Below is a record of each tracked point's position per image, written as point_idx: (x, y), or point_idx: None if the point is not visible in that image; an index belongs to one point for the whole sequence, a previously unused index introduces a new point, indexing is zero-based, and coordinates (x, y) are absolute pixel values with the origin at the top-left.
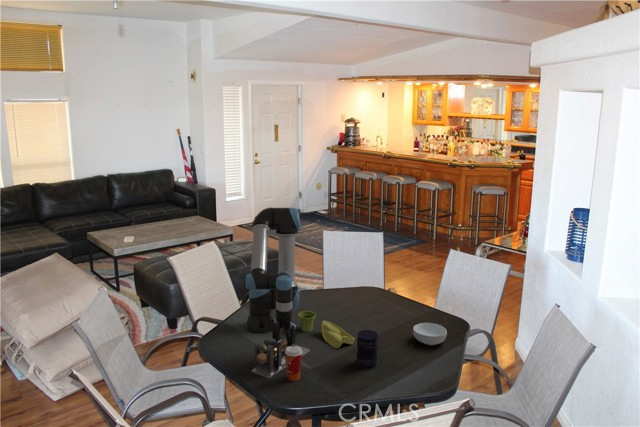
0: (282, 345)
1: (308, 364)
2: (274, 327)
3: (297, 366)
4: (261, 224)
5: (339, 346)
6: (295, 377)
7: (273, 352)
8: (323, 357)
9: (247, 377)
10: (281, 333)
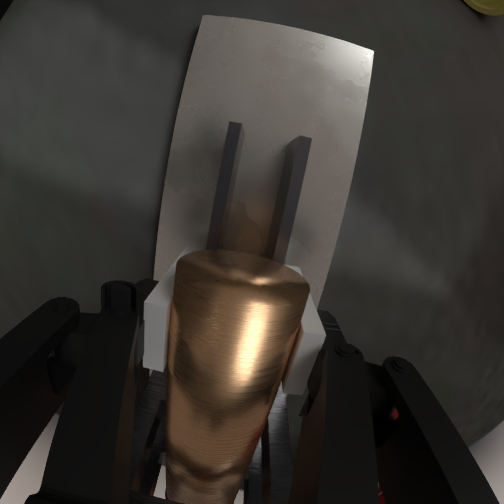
0: (257, 427)
1: (428, 254)
2: (2, 487)
3: None
4: None
5: (499, 13)
6: None
7: (237, 492)
8: (476, 128)
9: None
10: (125, 392)
